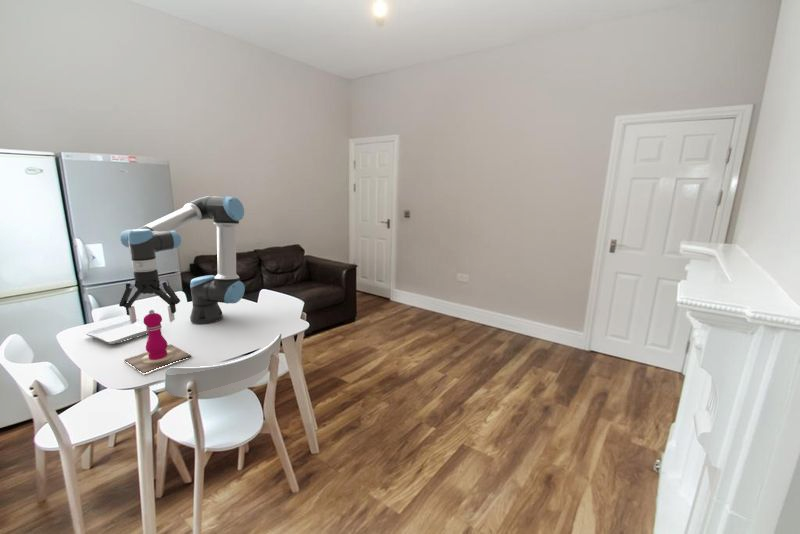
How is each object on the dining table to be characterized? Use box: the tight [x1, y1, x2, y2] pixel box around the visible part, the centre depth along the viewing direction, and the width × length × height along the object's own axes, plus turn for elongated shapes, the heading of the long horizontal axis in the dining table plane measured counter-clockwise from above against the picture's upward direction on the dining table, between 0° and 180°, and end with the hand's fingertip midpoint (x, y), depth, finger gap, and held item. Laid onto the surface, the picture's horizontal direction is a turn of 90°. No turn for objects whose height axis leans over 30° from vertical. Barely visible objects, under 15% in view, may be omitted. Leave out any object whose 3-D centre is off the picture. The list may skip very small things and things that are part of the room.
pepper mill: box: [143, 309, 169, 360], centre depth 139 cm, size 7×7×20 cm
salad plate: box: [85, 318, 149, 345], centre depth 163 cm, size 21×21×3 cm
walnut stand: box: [124, 343, 192, 373], centre depth 141 cm, size 17×17×2 cm
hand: (153, 321), depth 138 cm, fingers open, 13 cm apart
